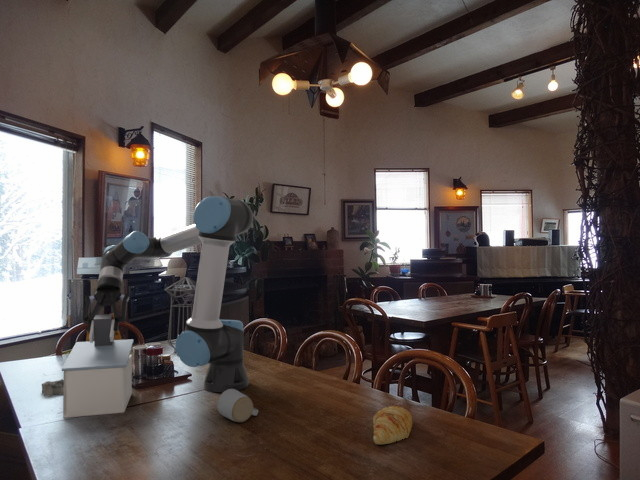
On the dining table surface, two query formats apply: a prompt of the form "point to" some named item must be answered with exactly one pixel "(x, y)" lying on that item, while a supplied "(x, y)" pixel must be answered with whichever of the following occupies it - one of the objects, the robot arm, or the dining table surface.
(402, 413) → the croissant
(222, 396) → the ceramic mug
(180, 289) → the geometric lantern
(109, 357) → the lid
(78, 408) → the storage box
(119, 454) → the dining table surface
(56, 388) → the grey piece
